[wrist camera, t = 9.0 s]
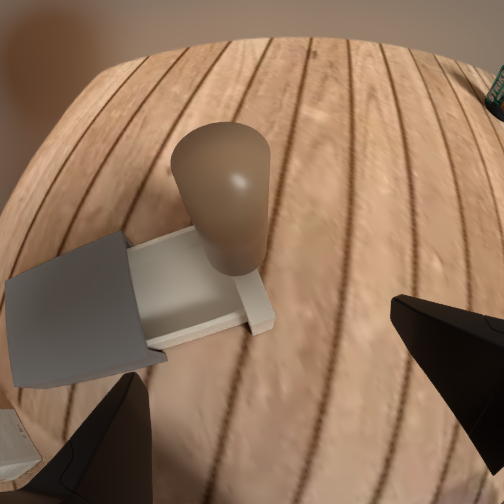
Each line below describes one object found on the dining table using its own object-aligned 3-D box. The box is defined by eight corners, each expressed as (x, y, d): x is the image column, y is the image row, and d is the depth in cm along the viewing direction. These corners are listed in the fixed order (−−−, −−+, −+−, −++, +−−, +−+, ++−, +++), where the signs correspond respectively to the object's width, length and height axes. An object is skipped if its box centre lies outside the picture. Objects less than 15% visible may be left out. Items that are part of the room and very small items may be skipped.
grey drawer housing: (44, 389, 20) (14, 387, 16) (31, 295, 24) (4, 281, 20) (167, 360, 21) (147, 357, 17) (141, 252, 25) (121, 230, 21)
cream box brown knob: (107, 378, 21) (-24, 362, 7) (87, 269, 24) (-12, 187, 11) (286, 323, 22) (324, 251, 9) (243, 214, 26) (229, 80, 13)
